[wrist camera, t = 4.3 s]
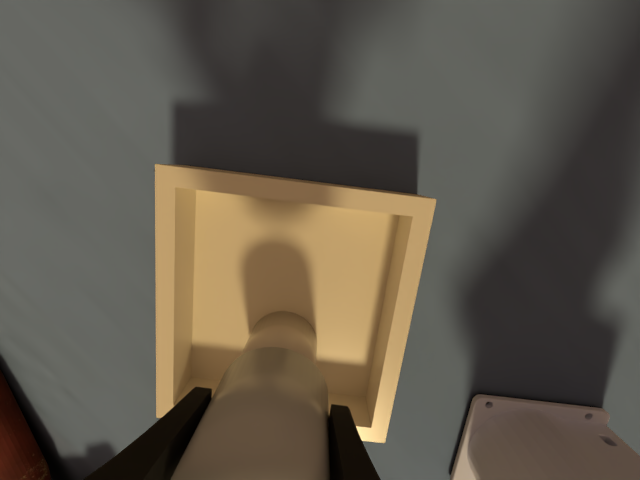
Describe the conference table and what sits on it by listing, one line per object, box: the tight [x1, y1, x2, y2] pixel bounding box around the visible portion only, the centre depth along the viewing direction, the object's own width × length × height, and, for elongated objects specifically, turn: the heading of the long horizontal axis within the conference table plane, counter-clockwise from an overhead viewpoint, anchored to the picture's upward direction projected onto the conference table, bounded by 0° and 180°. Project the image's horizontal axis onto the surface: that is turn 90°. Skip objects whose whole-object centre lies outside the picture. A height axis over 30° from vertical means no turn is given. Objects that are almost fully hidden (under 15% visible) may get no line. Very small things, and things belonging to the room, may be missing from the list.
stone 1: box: [241, 311, 317, 365], centre depth 17 cm, size 4×4×4 cm
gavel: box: [0, 370, 51, 480], centre depth 21 cm, size 21×5×10 cm
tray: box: [155, 164, 437, 443], centre depth 18 cm, size 14×15×3 cm
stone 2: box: [171, 347, 330, 480], centre depth 10 cm, size 4×4×4 cm
